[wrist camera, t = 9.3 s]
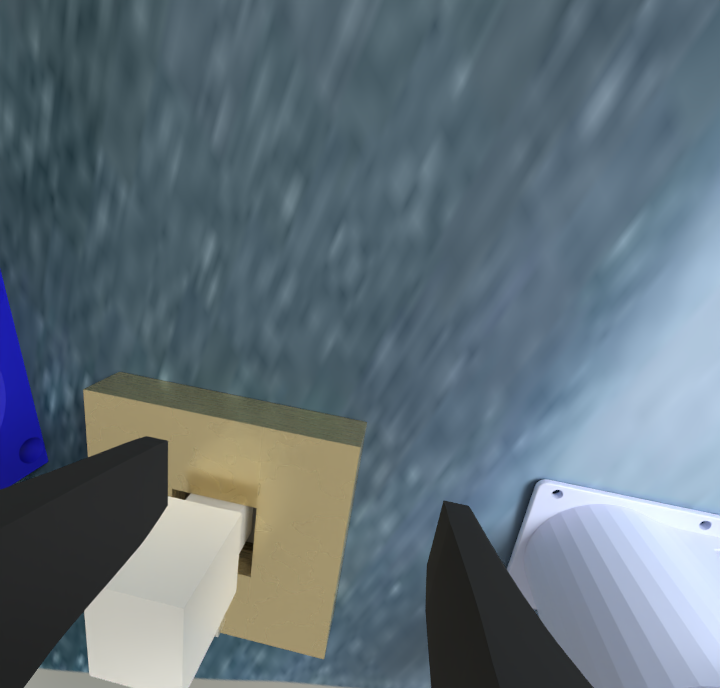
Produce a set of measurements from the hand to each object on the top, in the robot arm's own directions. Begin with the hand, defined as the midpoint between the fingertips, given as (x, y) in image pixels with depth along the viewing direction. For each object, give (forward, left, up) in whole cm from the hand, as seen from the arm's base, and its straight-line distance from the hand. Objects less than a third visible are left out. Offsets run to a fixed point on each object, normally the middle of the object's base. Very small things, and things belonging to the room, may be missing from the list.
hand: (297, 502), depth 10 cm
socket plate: (+6, +10, -10) cm, 16 cm away
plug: (+6, +10, -10) cm, 15 cm away
